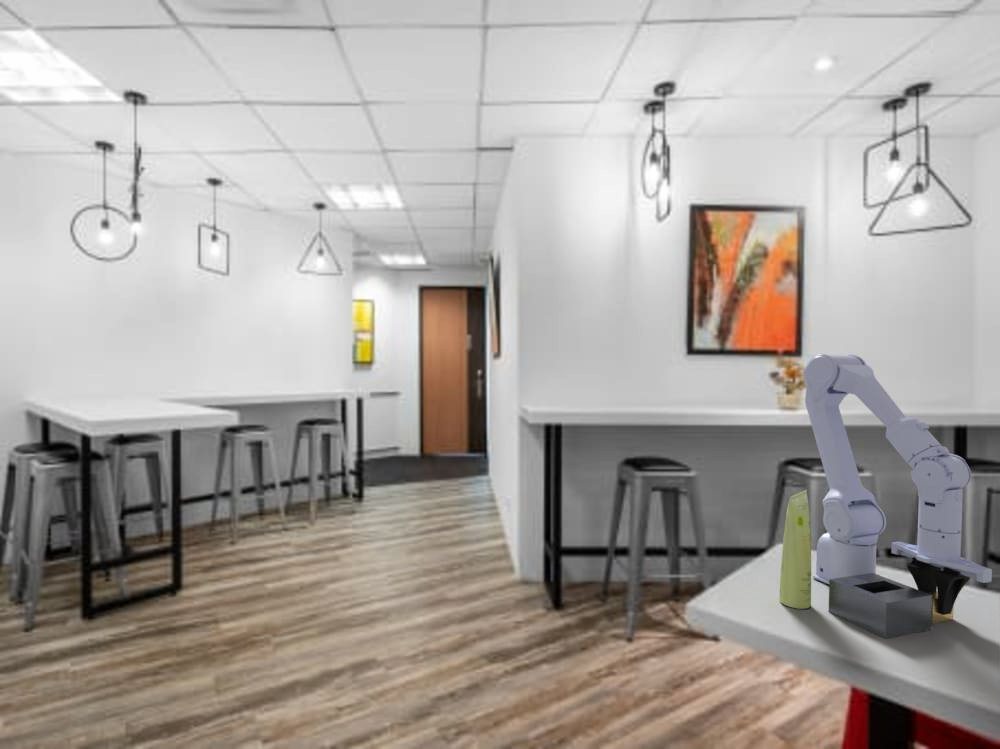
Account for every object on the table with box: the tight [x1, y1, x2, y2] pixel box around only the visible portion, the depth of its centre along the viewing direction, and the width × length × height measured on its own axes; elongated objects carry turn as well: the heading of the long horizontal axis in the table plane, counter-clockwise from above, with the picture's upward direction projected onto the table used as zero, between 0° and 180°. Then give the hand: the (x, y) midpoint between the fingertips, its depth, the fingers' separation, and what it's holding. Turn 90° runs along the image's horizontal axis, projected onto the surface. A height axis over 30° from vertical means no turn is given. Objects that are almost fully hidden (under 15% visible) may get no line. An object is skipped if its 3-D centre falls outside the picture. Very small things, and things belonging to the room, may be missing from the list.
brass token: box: [928, 591, 955, 624], centre depth 95 cm, size 2×5×4 cm, turn 109°
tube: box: [779, 489, 812, 610], centre depth 100 cm, size 6×5×20 cm
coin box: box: [828, 573, 932, 639], centre depth 94 cm, size 10×10×6 cm
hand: (936, 610), depth 95 cm, fingers closed on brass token, 2 cm apart
